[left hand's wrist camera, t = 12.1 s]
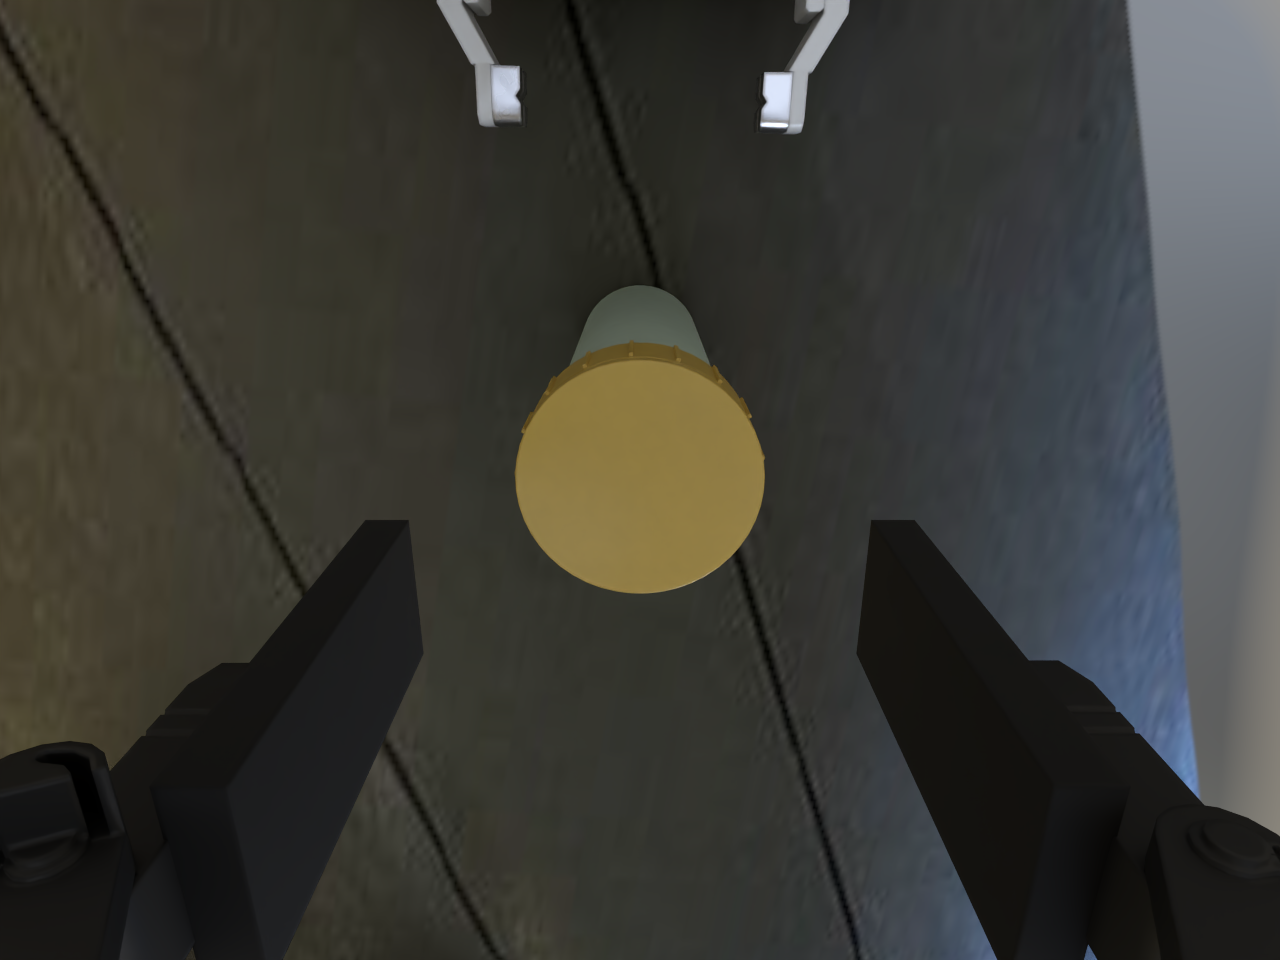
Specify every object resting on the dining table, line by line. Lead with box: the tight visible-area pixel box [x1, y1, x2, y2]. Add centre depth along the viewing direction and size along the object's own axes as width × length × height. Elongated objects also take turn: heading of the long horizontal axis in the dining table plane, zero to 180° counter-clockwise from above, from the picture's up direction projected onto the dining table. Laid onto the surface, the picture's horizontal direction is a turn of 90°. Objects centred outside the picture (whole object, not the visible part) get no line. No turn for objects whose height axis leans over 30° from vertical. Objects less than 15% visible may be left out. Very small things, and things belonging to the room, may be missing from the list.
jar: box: [570, 285, 710, 365], centre depth 28 cm, size 5×5×17 cm
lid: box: [515, 340, 765, 593], centre depth 20 cm, size 6×6×2 cm
